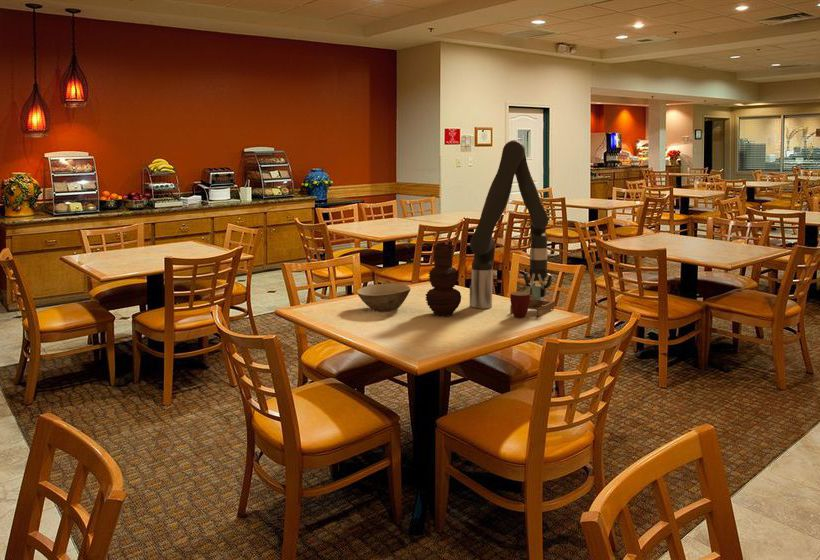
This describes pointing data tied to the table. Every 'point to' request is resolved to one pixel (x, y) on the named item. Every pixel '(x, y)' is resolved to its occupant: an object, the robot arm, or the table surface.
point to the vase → (443, 282)
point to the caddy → (540, 306)
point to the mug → (519, 303)
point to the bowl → (384, 296)
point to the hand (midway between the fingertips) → (537, 296)
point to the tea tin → (536, 292)
